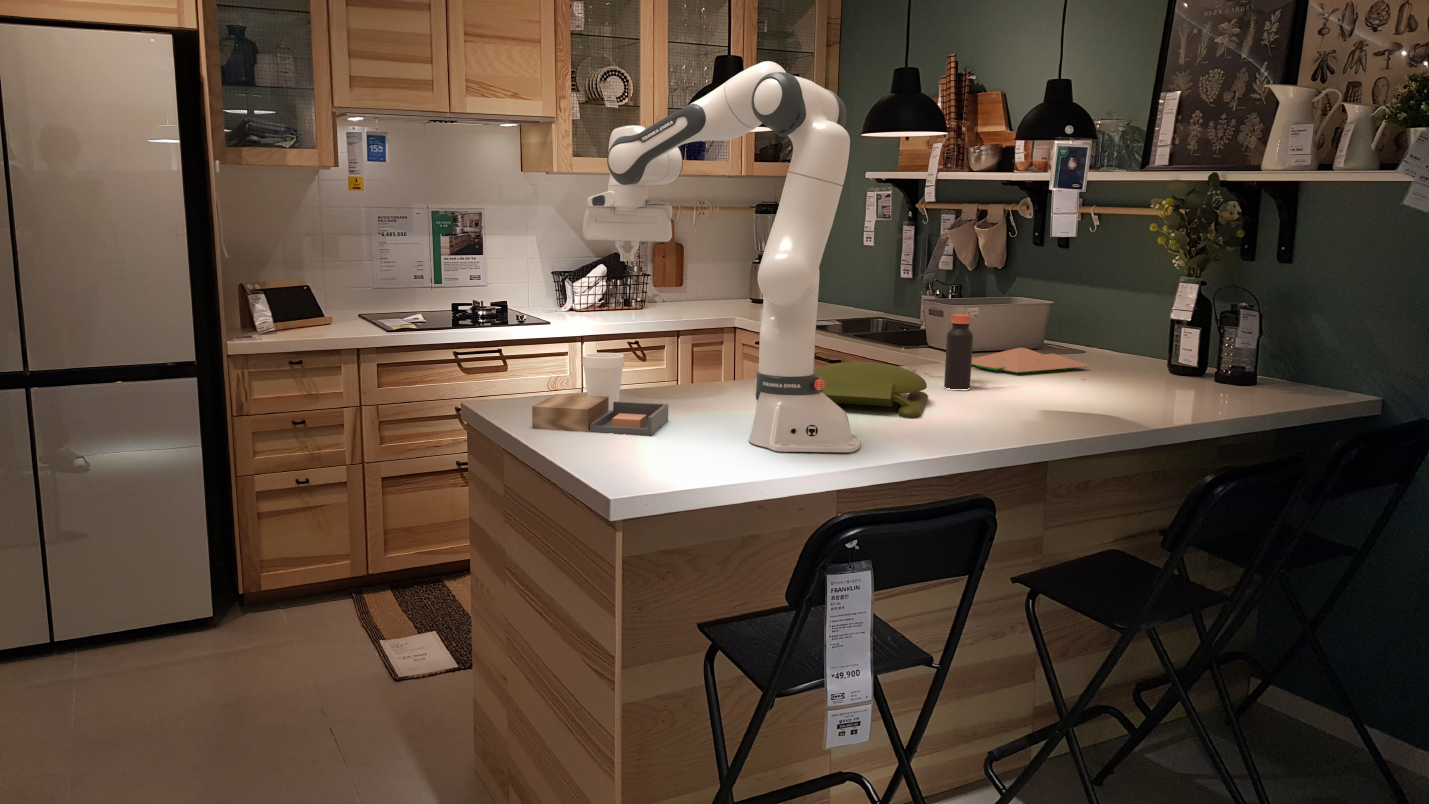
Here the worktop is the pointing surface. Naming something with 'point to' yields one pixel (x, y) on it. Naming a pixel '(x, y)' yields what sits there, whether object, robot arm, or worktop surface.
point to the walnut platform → (569, 412)
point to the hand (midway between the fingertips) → (627, 261)
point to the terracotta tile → (629, 420)
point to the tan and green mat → (1025, 361)
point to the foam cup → (603, 375)
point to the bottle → (959, 353)
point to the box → (654, 412)
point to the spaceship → (874, 385)
